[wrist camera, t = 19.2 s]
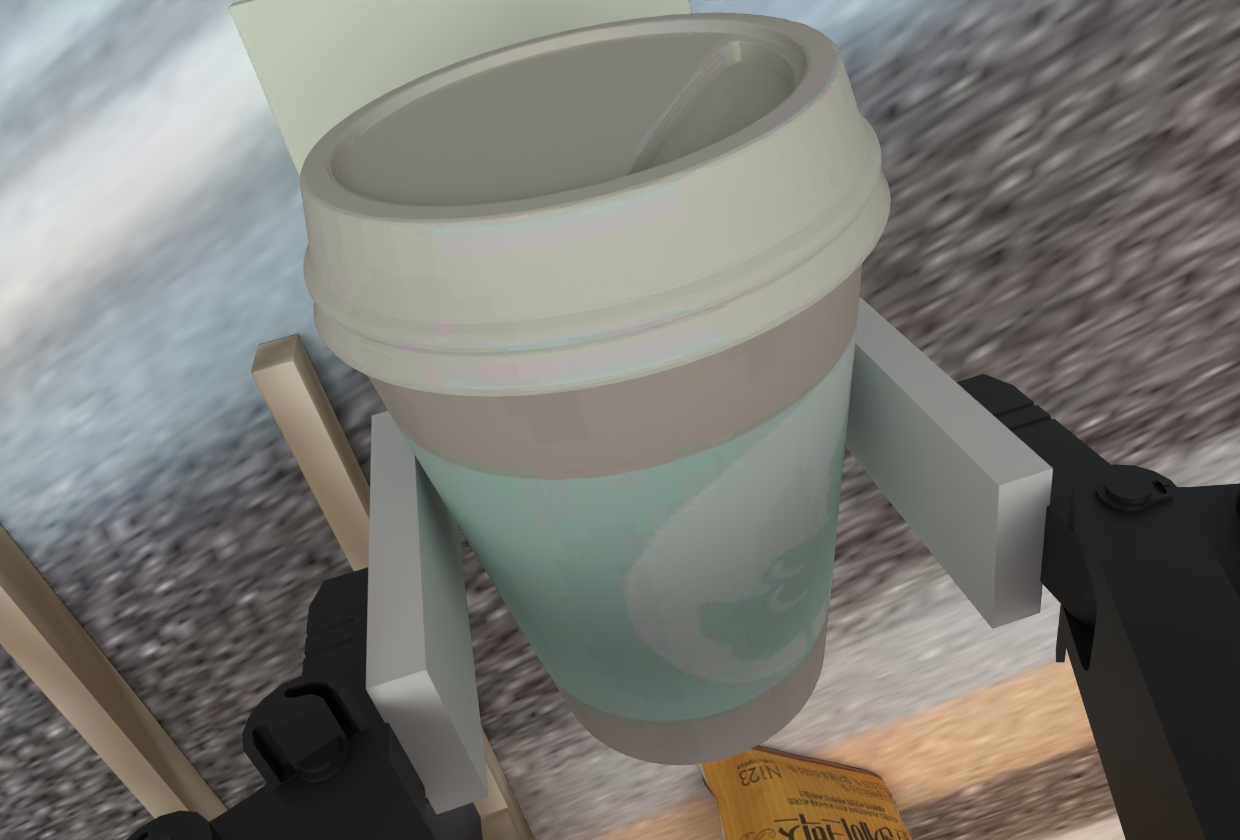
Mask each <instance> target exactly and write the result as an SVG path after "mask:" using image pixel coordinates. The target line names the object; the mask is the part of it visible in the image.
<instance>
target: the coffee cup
mask: <svg viewBox="0 0 1240 840" xmlns="http://www.w3.org/2000/svg"><path fill="white" fill-rule="evenodd" d="M881 157H882V155H881V148H880V144H879V141H878V138H877V135H876V133H875V131H874V129H873V128H872V126H871V125H870V124H869V122H868V121H867V120H866V119H865V118H864V117H863V116H862V115H861V114H860V113H859V110H858V107H857V104H856V100H855V97H854V94H853V91H852V88H851V85H850V82H849V79H848V75H847V72H846V69H845V66H844V63H843V60H842V57H841V54H840V51H839V49H838V47H837V46H836V45H835V44H834V43H833V41H832V40H830V39H829V38H828V37H826V36H825V35H824V34H823V33H821V32H819V31H817V30H815V29H813V28H811V27H809V26H807V25H804V24H801V23H797V22H793V21H789V20H786V19H782V18H775V17H769V16H762V15H752V14H736V13H699V14H675V15H664V16H655V17H646V18H637V19H629V20H623V21H616V22H610V23H603V24H598V25H593V26H588V27H582V28H577V29H572V30H567V31H563V32H559V33H555V34H551V35H547V36H542V37H538V38H534V39H530V40H526V41H522V42H519V43H515V44H512V45H509V46H505V47H502V48H499V49H495V50H492V51H489V52H485V53H482V54H480V55H477V56H474V57H471V58H468V59H465V60H462V61H459V62H456V63H454V64H451V65H449V66H446V67H444V68H441V69H439V70H436V71H434V72H431V73H428V74H426V75H423V76H421V77H419V78H417V79H415V80H413V81H411V82H408V83H406V84H404V85H402V86H400V87H398V88H396V89H393V90H391V91H389V92H388V93H386V94H384V95H382V96H380V97H379V98H377V99H375V100H373V101H371V102H370V103H368V104H366V105H364V106H363V107H361V108H359V109H358V110H356V111H355V112H353V113H352V114H350V115H349V116H348V117H346V118H345V119H343V120H342V121H341V122H339V123H338V124H337V125H335V126H334V127H333V128H332V129H330V130H329V131H328V132H327V133H326V134H325V135H324V136H323V137H322V138H321V139H320V140H319V141H318V142H317V143H316V144H315V146H314V147H313V148H312V149H311V151H310V152H309V154H308V155H307V157H306V159H305V161H304V164H303V167H302V169H301V173H300V185H301V192H302V199H303V206H304V213H305V219H306V226H307V233H308V240H309V243H308V246H307V249H306V253H305V258H304V279H305V282H306V286H307V289H308V291H309V293H310V295H311V297H312V298H313V300H314V318H315V323H316V327H317V330H318V332H319V334H320V336H321V338H322V340H323V341H324V343H325V344H326V345H327V347H328V348H329V349H330V350H331V351H332V352H333V353H334V354H335V355H336V356H337V357H338V358H339V359H341V360H342V361H343V362H345V363H346V364H348V365H349V366H351V367H352V368H354V369H356V370H358V371H360V372H362V373H364V374H366V375H367V376H368V378H369V379H370V381H371V383H372V384H373V386H374V388H375V389H376V391H377V393H378V394H379V396H380V398H381V399H382V401H383V403H384V404H385V406H386V408H387V409H388V411H389V413H390V414H391V416H392V418H393V420H394V421H395V423H396V425H397V426H398V428H399V430H400V431H401V433H402V435H403V436H404V438H405V439H406V441H407V443H408V444H409V446H410V448H411V449H412V451H413V453H414V454H415V456H416V458H417V459H418V461H419V462H420V464H421V466H422V467H423V469H424V471H425V472H426V474H427V476H428V477H429V479H430V481H431V482H432V484H433V485H434V487H435V489H436V490H437V492H438V494H439V495H440V497H441V499H442V500H443V502H444V503H445V505H446V507H447V508H448V510H449V512H450V513H451V515H452V517H453V518H454V520H455V522H456V523H457V525H458V526H459V528H460V530H461V531H462V533H463V535H464V536H465V538H466V540H467V541H468V543H469V544H470V546H471V548H472V549H473V551H474V553H475V554H476V556H477V558H478V559H479V561H480V563H481V564H482V566H483V567H484V569H485V571H486V572H487V574H488V576H489V577H490V579H491V581H492V582H493V584H494V585H495V587H496V589H497V590H498V592H499V594H500V595H501V597H502V599H503V600H504V602H505V604H506V605H507V607H508V608H509V610H510V612H511V613H512V615H513V617H514V618H515V620H516V622H517V623H518V625H519V627H520V628H521V630H522V631H523V633H524V635H525V636H526V638H527V640H528V641H529V643H530V645H531V646H532V648H533V649H534V651H535V653H536V654H537V656H538V658H539V659H540V661H541V663H542V664H543V666H544V667H545V669H546V670H547V672H548V674H549V675H550V677H551V678H552V680H553V682H554V683H555V685H556V686H557V688H558V690H559V691H560V693H561V694H562V696H563V698H564V699H565V701H566V702H567V704H568V706H569V707H570V709H571V710H572V712H573V714H574V715H575V717H576V718H577V719H578V720H579V722H580V723H581V724H582V725H583V726H584V727H585V728H586V729H587V730H588V731H589V732H590V733H591V734H592V735H593V736H594V737H595V738H597V739H598V740H600V741H601V742H602V743H604V744H606V745H607V746H609V747H610V748H612V749H614V750H616V751H618V752H620V753H623V754H625V755H627V756H630V757H633V758H636V759H639V760H643V761H648V762H653V763H658V764H668V765H693V764H703V763H709V762H714V761H718V760H722V759H726V758H729V757H732V756H735V755H738V754H741V753H743V752H745V751H748V750H750V749H752V748H754V747H756V746H758V745H759V744H761V743H763V742H765V741H766V740H768V739H769V738H771V737H772V736H773V735H775V734H776V733H777V732H779V731H780V730H781V729H782V728H784V727H785V726H786V725H787V724H788V723H789V722H790V721H791V720H792V719H793V718H794V717H795V716H796V715H797V714H798V713H799V711H800V710H801V709H802V707H803V706H804V705H805V703H806V702H807V700H808V699H809V697H810V695H811V694H812V692H813V690H814V688H815V685H816V683H817V681H818V678H819V675H820V672H821V668H822V664H823V658H824V649H825V640H826V631H827V621H828V612H829V603H830V595H831V585H832V574H833V564H834V554H835V544H836V533H837V523H838V513H839V503H840V493H841V482H842V472H843V462H844V452H845V441H846V431H847V421H848V411H849V401H850V390H851V380H852V370H853V360H854V349H855V339H856V329H857V319H858V306H859V295H860V284H861V273H862V262H863V261H864V260H865V259H866V258H867V256H868V255H869V254H870V253H871V251H872V250H873V248H874V247H875V245H876V244H877V242H878V241H879V239H880V237H881V235H882V233H883V231H884V229H885V226H886V223H887V220H888V217H889V212H890V202H891V200H890V190H889V186H888V183H887V180H886V178H885V176H884V174H883V172H882V170H881Z"/></svg>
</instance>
